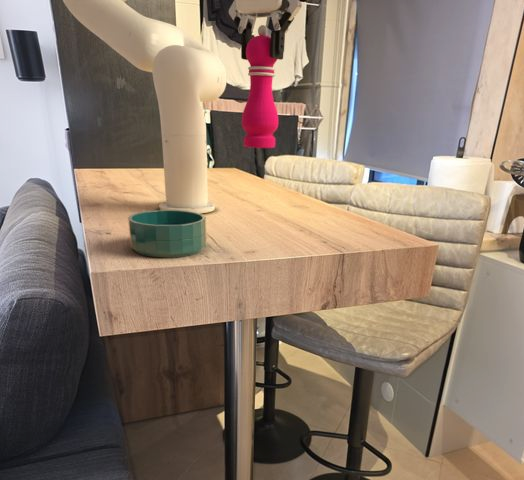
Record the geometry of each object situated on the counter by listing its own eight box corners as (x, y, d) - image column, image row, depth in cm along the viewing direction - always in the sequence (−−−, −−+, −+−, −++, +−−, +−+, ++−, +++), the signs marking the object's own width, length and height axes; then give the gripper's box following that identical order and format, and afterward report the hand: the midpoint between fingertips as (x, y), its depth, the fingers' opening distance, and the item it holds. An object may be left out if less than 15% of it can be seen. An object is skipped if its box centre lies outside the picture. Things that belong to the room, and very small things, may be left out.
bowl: (127, 241, 78) (124, 211, 76) (197, 237, 82) (196, 208, 80) (136, 261, 68) (132, 227, 66) (214, 255, 72) (214, 223, 70)
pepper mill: (256, 145, 95) (259, 29, 86) (284, 147, 91) (290, 27, 82) (233, 146, 90) (234, 23, 81) (262, 148, 86) (266, 20, 77)
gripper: (322, -71, 74) (312, 60, 82) (240, -54, 83) (239, 62, 91) (296, -87, 68) (288, 55, 77) (212, -67, 77) (213, 58, 86)
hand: (261, 58), depth 84 cm, fingers closed on pepper mill, 6 cm apart
